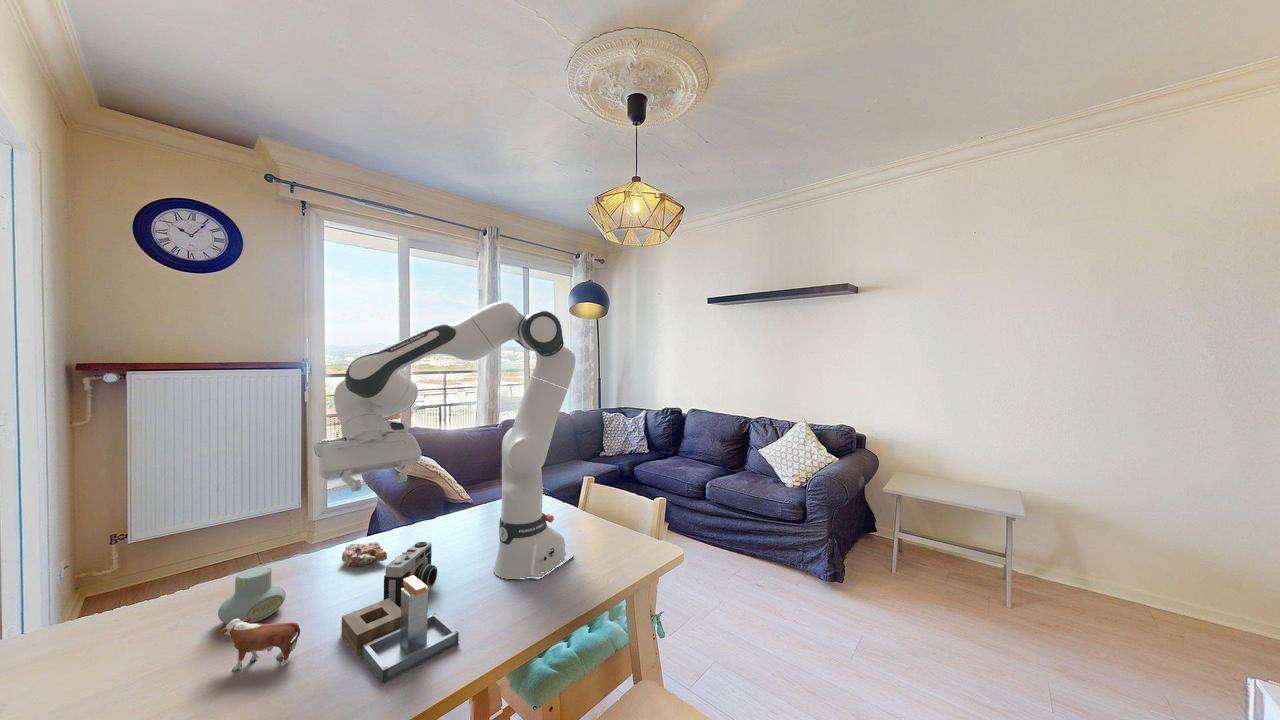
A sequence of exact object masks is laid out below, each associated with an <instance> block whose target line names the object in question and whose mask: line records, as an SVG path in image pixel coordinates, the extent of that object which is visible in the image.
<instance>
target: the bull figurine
mask: <svg viewBox="0 0 1280 720" xmlns="http://www.w3.org/2000/svg"><path fill="white" fill-rule="evenodd" d="M250 620H251V618H246V619H244V620H243V621H240V619H234V620H232V621H231V622H230V623H229V624H226V625H225V627H224V628H222V629H221V630H220V635H221V634H222V635H223V634H224V635H229V637H230V639H231V641H232V643H233V644H234V645H233V647H234V648H235V649H236V650H237V651H238V656H237V659H236V661H237V663H236V664H235V665H234V667H233V668H232V670H231V671H233V672H237V671H238V670H239V669H240V668H242V667H243V664H242V663H243V661H244V659H245V658H246V657H245V656H246V654H247V653H251V658H250V659H249V661H250V662H254V661H255V660H257V659H258V658H259V654H258V653H257V652H264V651H267V652H268V653H269V652H271V651H272V649H274V647H275V648H278V649H280V651H281V652H279V654H278V655H276V658H277V659H281V658H282V657H283V659H282V661H281V662H280V664H279V665H278V666H279V668H282V667H284V666H285V665H286V664H288V662H289V659H290V658H289V657H290V654H291V653H292V652H293V651H294V649H296V645H297V643H298V638H299V637H300V635H301V628H300V625H299V623H298V622H278V623H264V624H263V623H259V622H256V623H252V624H249V623H248V622H249V621H250Z"/></svg>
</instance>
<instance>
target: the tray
mask: <svg viewBox="0 0 1280 720" xmlns="http://www.w3.org/2000/svg"><path fill="white" fill-rule="evenodd" d="M459 634H460V633H459V631H458V630H457V629H456V628H455V627H453V625H451V624H450V623H448V622H447V621H446V620H445V619H444V618H443V617H441V616H440V615H439V614H438V613H436V612H434V613H432V614H430V615H427V646H425V647H423V648H421V649H419V650H417V651H415V652H413V653H411V654H409V655H407V654H406V653H405V652H404V650H403V649H402V648H401V647H400V629H398V630H396V631H394V632H391V633H389V634H387V635H385V636H383V637H380V638H378V639H376V640H374V641H372V642H369V643H367V644H365V645H363V653H362V657H361V658H362V659H363V660H364V662H365V663H366V664H367V666H368V667H369V668H370V670H371V671H372V672H373V673H374V675H375V676H376V677H377V679H378V680H379V681H380V682H381V684H382V685H383V684H385V683H387V682H389V681H391V680H393V679H394V678H395V679H396V678H397V677H399V676H401V675H403V674H404V673H406V672H408V671H410V670H412V669H414V668H416V667H417V666H419V665H422V664H423V663H425V662H427V661H430V660H431V659H433V658H435V657H437V656H438V655H440V654H442V653H444V652H446V651H449V649H452V648H454V647H456V646H457V645H459V641H460V640H459V639H460V638H459V637H460V635H459Z"/></svg>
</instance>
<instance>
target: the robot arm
mask: <svg viewBox="0 0 1280 720" xmlns="http://www.w3.org/2000/svg"><path fill="white" fill-rule="evenodd" d="M562 328H563V327H562V325H561V322H560V319H559V318H558V317H557V316H556V315H555V314H553V313H552V312H551V311H548V310H541V309H540V310H539V309H538V310H534V311H532V312H530V313H528V314H522V313H520V312H519V311H518V310H517V308H516V307H515V306H514V305H513V304H511V303H510V302H508V301H504V300H501V301H500V300H499V301H497V302H493V303H491V304H489V305H486V306H484V307H482V308H481V309H480V308H479V309H478V310H477V311H474V312H473V313H471V314H470V315H468V316H467V317H464V318H462V319H460V320H458V321H456V322H453V323H448V324H445V323H441V324H436V325H434V326H431V327H428V328H426V329H424V330H421V331H420V332H419V331H418V332H417V333H415V334H413V335H410V336H408V337H407V338H405V339H401V340H400V341H397V342H396V343H394V344H392V345H389V346H386V347H385V348H382V349H380V350H378V351H373V352H370V353H367V354H364V355H361V356H359V357H357V358H356V359H355V360H353V361H351V363H350V365H349V366H348V367H347V369H346V372H345V377H344V379H343V380H341V381H340V382H339V383H338V385H336V387H335V389H334V394H333V402H334V408H335V413H336V416H337V419H338V421H339V422H340V424H341V425H340V431H341V435H342V437H338V438H332V439H322V440H320V442H318V443H316V444H315V445H314V447H313V450H314V451H313V452H314V455H315V456H316V457H317V458H318V472H319V477H321V478H322V479H323V480H331V479H337V478H341V481H342V482H343V483H345V484H346V485H348V486H350V487H349V488H350V491H351V492H352V493H353V492H354V493H355V492H358V491H361V488H362V483H361V479H357V480H356V479H355V478H353V477H352V476H354V475H355V476H356V475H361V474H366V473H371V472H379V471H383V470H390V469H395V468H396V469H397V468H398V469H399V470H400V471H401V472H399V473H398V474H397V477H396V479H397V481H398V483H405V482H407V480H408V474H407V470H408V467H409V466H413V465H416V464H417V463H418V462H419V461H420V459H421V456H422V449H421V447H420V445H419V443H418V441H417V439H416V437H415V436H414V434H412V433H410V432H409V430H410V427H409V424H408V423H405V422H400V421H393V420H387V418H388V419H389V418H390V417H393V416H396V415H398V414H401V413H403V412H405V411H407V410H408V409H410V408H411V407H412V406H413V405H414V403H415V402H416V401H417V398H418V393H419V391H418V386H417V385H416V383H415V382H414V381H412V380H411V379H410V378H409V377H408V376H407V375H405V373H402V372H401V370H403V369H404V368H406V367H408V366H411V365H412V364H414V363H417V362H419V361H420V360H422V359H424V358H427V357H429V356H431V355H437V354H439V355H447V356H451V357H454V358H456V359H460V360H463V361H477V360H479V359H482V358H483V357H486V356H488V355H489V354H491V353H492V352H494V351H495V350H497V348H499V347H501V346H502V345H504V344H506V343H507V342H509V341H512V340H513V341H515V342H517V343H518V344H519V345H520V346H522V347H523V348H524V349H526V350H528V351H532V352H534V353H535V357H536V361H535V366H534V367H533V368H534V369H533V371H532V372H531V376H530V378H529V380H528V383H527V386H526V388H525V390H524V393H523V395H522V397H521V400H520V402H519V407H518V410H517V413H516V416H515V418H514V419H515V420H514V421H513V425H512V427H511V428H509V429H508V430H507V431H506V433H505V434H504V436H503V438H502V440H501V441H502V442H501V509H500V510H501V516H500V517H499V525H498V536H499V545H498V551H497V556H496V559H495V564H494V567H493V573H494V572H495V573H494V574H495V576H497V577H498V576H499V577H498V578H500V577H501V578H500V579H503V578H505V579H504V580H508V579H520V578H527V577H542V576H543V575H545V574H546V573H547V572H549V571H551V570H552V569H553V568H555V567H556V566H557V565H559V564H560V563H561V562H563V561H564V560H565V559H564V558H565V557H563V556H566V552H565V547H566V543H565V538H564V537H563V535H562V533H560V532H558V531H557V530H555V529H554V528H553V527H551V526H549V525H548V524H547V522H548V523H550V524H551V523H553V522H554V521H555V516H554V515H553V514H550V513H548V514H545V513H543V499H544V498H543V496H544V495H543V494H544V493H543V492H544V491H543V490H544V487H543V474H542V473H543V471H542V470H543V469H542V467H543V466H544V464H545V462H546V460H547V456H548V452H549V448H550V445H551V442H552V439H553V435H554V432H555V427H556V423H557V421H558V420H557V419H558V416H559V413H560V411H561V408H562V406H563V403H564V402H565V398H566V395H567V393H568V391H569V387H570V385H571V382H572V378H573V375H574V372H575V366H576V362H577V361H576V360H577V359H576V356H575V354H574V352H573V351H572V350H570V349H569V348H567V347H566V346H565V345H564V344H565V341H564V336H563V330H562ZM560 560H561V561H560ZM541 572H544V573H541Z"/></svg>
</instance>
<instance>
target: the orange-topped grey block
mask: <svg viewBox="0 0 1280 720" xmlns="http://www.w3.org/2000/svg"><path fill="white" fill-rule="evenodd" d="M403 585H404V586H405V588H402V589H401V607H400V609H401V623H400V647H401V648H402V649H403V650H404V652H405V653H406V654H407V655H409V654H411V653H413V652H415V651H417V650H419V649H421V648H423V647H425V646H427V616H428V611H429V609H428V605H429V604H428V603H429V588H427V586H426V585H425V584H424V583H423V582H421V581H420V580H419V579H418V578H416V577H415V576H414V575H413V576H410V577H408V578H405V579H403Z"/></svg>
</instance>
